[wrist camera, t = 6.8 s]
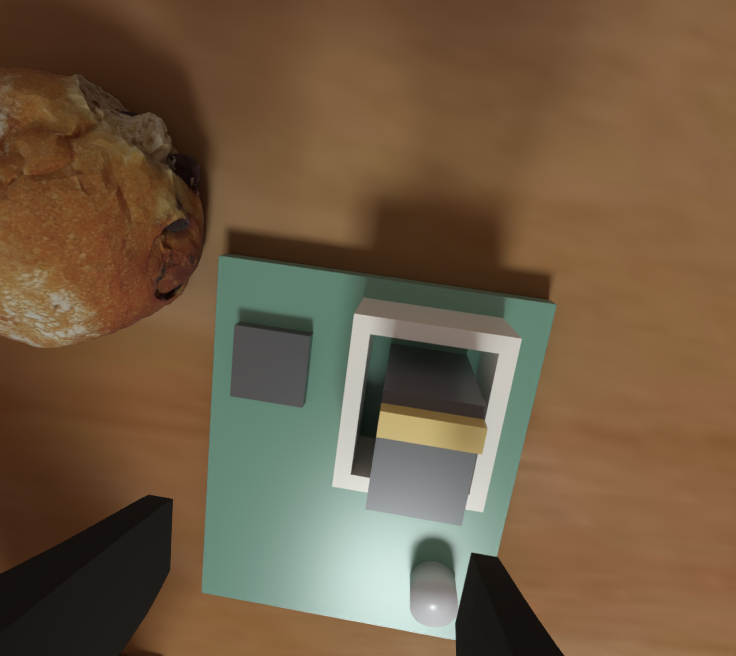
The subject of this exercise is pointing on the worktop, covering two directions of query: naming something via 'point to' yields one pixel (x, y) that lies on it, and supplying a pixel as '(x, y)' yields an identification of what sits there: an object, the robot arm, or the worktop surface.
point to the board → (319, 446)
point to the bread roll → (88, 211)
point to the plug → (427, 435)
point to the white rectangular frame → (435, 328)
